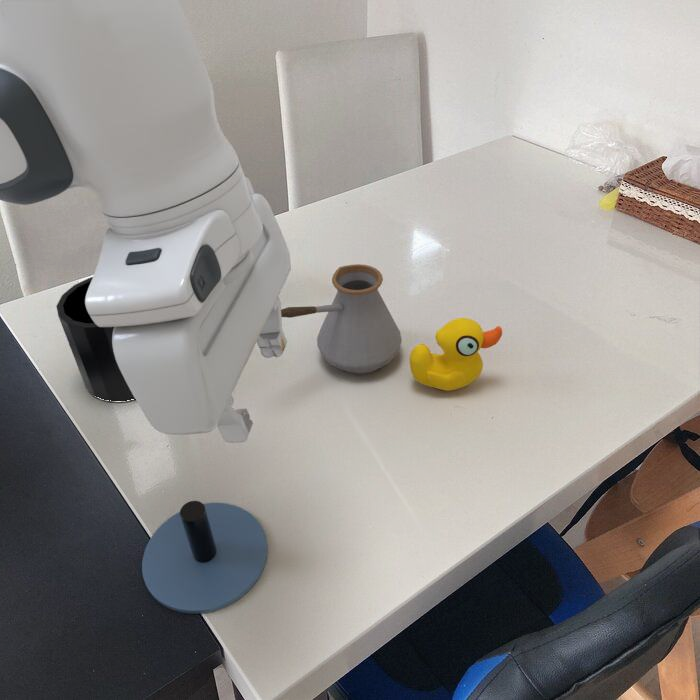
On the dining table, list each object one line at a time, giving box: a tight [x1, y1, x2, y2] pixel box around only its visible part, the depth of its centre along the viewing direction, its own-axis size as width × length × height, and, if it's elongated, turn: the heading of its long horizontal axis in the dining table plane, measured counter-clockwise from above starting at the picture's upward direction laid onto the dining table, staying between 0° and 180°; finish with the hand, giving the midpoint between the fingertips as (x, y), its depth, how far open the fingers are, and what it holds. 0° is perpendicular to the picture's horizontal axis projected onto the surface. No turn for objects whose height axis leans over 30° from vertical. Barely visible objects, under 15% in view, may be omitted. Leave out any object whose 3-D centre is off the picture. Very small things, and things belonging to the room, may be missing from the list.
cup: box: [56, 276, 135, 401], centre depth 89 cm, size 12×12×12 cm
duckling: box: [409, 317, 503, 391], centre depth 86 cm, size 11×5×10 cm, turn 93°
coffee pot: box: [281, 263, 403, 375], centre depth 87 cm, size 21×12×15 cm, turn 131°
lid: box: [141, 500, 268, 615], centre depth 67 cm, size 13×13×8 cm
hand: (259, 390), depth 51 cm, fingers open, 8 cm apart
